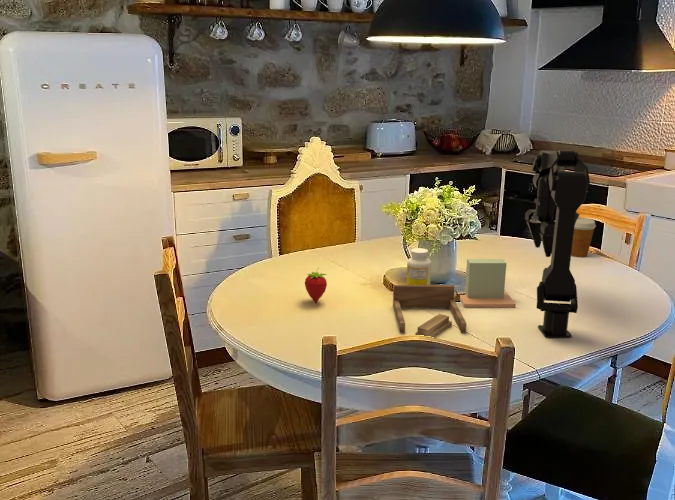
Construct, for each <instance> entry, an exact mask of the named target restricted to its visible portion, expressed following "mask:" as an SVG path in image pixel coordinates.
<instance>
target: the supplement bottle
mask: <svg viewBox="0 0 675 500" xmlns="http://www.w3.org/2000/svg"><path fill="white" fill-rule="evenodd" d="M410 254H411V257H410V258H408V259H407V265H406V266H407V268H406V285H431V275H432V272H431V271H432V270H431V269H432V261H431V259H429V258H428V256H429V250H428V249H426V248H420V247H417V248H412V249H411V250H410Z"/></svg>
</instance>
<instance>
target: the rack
mask: <svg viewBox="0 0 675 500" xmlns="http://www.w3.org/2000/svg"><path fill="white" fill-rule="evenodd" d="M455 287H456V286H455V285H454V284H430V285H407V284H393V292H392V294H393V295H392V307H393V312H394V315H395V319H396V323H397V327H398V331H399V333H403V334H404V333H406V321H405V317H404V314H403V312H402V308H403V309H404V308H405V309H406V308H409V309H410V308H411V309H412V308H419V309H421V308H424V309H425V308H431V309H432V308H434V309H435V308H437V309H439V308H448V309H449V311H450V313H451V315H452V317H453V319H454V321H455V323H456V325H457V327H458V329H459V331H460V333H461V334H463V333H467V322H466V319H465V318H464V316H463V313H462V312H461V310H460V308H459V306H458V304H457V302H456V300H455V290H454V288H455Z"/></svg>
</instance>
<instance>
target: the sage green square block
mask: <svg viewBox="0 0 675 500" xmlns="http://www.w3.org/2000/svg"><path fill="white" fill-rule="evenodd" d="M465 271H466V272H465V284H464V287H465V292H466V296H467V297H468V298H504V289H505V285H506V273H507V262H506V261H505V260H504V258H466V269H465Z"/></svg>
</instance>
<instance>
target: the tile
mask: <svg viewBox="0 0 675 500" xmlns="http://www.w3.org/2000/svg"><path fill="white" fill-rule="evenodd" d="M459 301H460V303H461V305H462V307H463V308H475V309H476V308H479V309H480V308H481V309H482V308H483V309H484V308H489V309H490V308H491V309H493V308H498V309H500V308H504V309H505V308H509V309H511V308H516V306H517V304H516V302H515V300H513V298H512V297H511V295H510V294H509V292H507V290H506V289H505V288H504V298H468V297H467V296H466V294H465V295H460V299H459Z"/></svg>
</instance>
